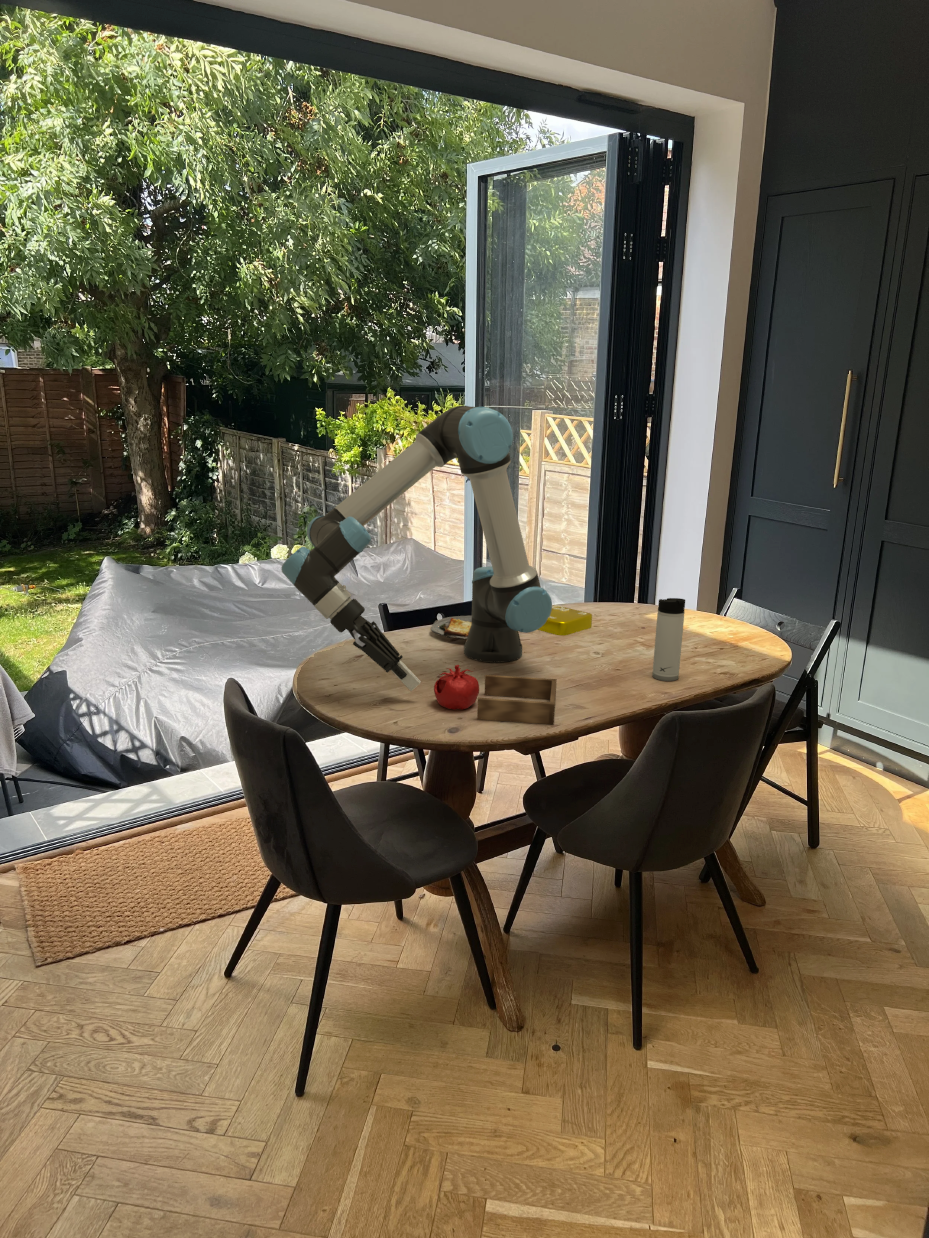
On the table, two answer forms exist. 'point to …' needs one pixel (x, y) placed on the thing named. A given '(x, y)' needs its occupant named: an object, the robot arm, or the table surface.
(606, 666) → the table surface
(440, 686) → the pomegranate
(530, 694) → the box
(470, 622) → the food plate
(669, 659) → the travel mug
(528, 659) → the table surface
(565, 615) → the element tile
